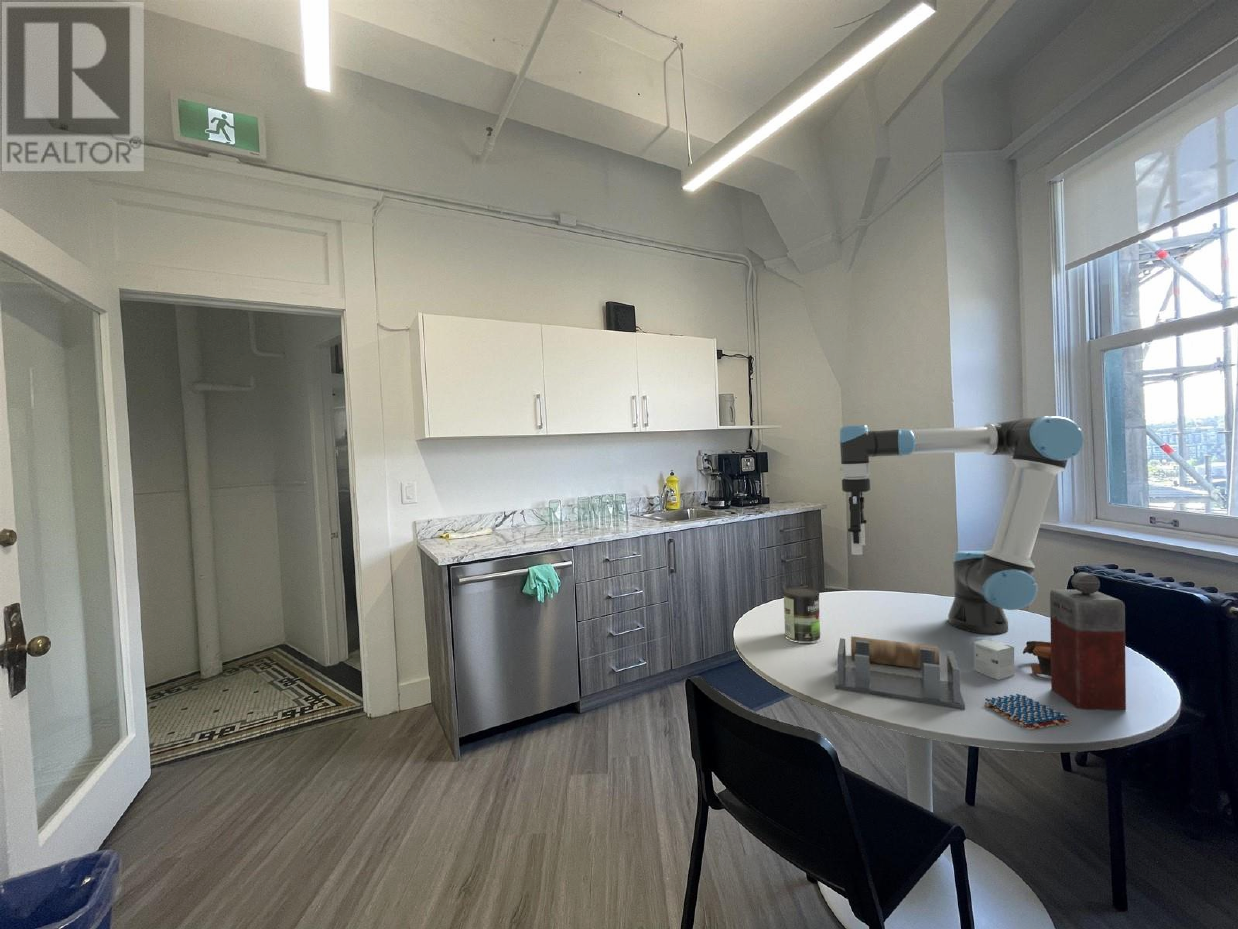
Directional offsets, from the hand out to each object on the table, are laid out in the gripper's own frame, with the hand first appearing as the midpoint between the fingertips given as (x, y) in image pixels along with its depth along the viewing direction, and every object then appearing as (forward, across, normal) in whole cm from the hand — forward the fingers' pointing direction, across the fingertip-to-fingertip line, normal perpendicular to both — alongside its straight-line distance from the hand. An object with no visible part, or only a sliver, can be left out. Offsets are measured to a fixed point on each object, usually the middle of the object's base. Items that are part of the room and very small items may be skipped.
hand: (858, 549), depth 150 cm
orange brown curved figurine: (+28, +6, +43) cm, 51 cm away
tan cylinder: (+27, +15, +8) cm, 32 cm away
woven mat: (+28, +32, +33) cm, 53 cm away
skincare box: (+27, +12, +30) cm, 42 cm away
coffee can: (+27, +6, -16) cm, 32 cm away
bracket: (+27, +30, +9) cm, 41 cm away
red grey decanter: (+27, +18, +45) cm, 56 cm away
